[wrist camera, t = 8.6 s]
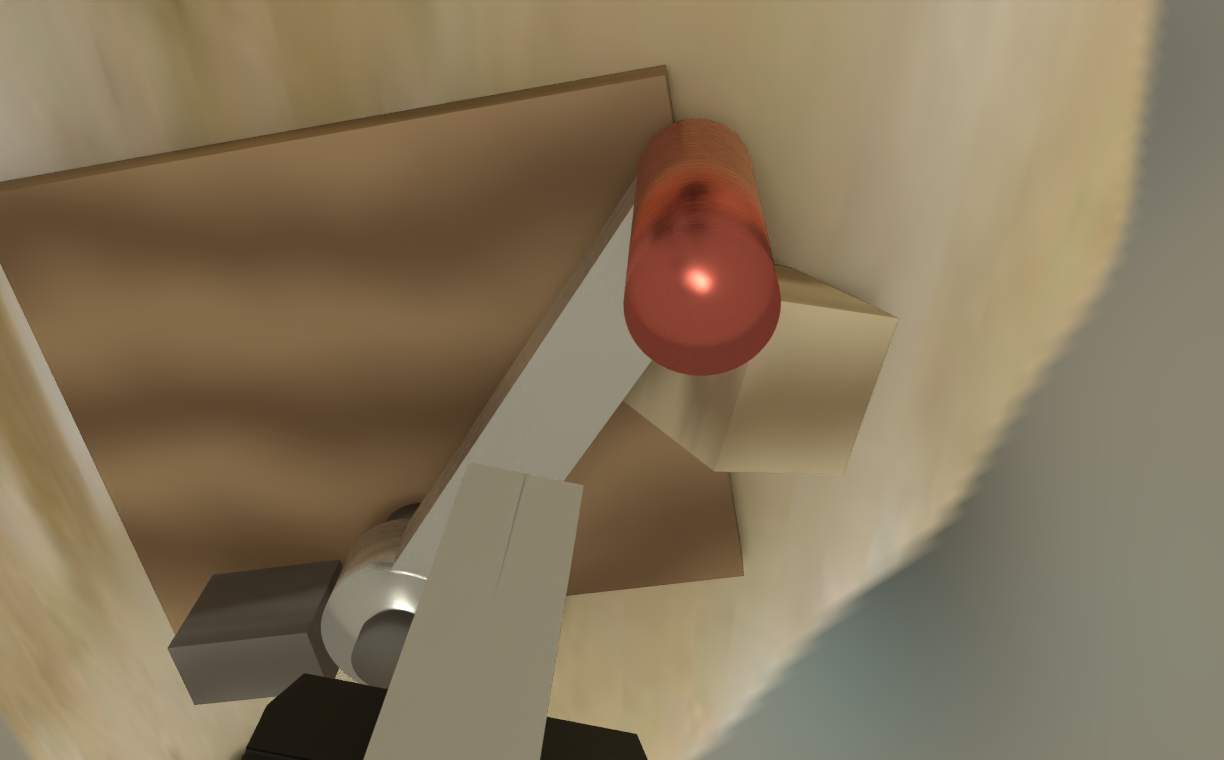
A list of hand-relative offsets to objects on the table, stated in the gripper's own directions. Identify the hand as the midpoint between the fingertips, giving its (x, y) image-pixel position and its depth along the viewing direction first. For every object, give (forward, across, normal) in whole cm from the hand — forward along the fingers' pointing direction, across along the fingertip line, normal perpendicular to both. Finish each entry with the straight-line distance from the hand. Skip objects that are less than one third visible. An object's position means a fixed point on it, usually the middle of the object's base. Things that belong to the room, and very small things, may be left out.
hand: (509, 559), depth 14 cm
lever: (+18, -1, -8) cm, 20 cm away
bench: (+21, -6, -10) cm, 24 cm away
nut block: (+20, +4, -5) cm, 21 cm away
